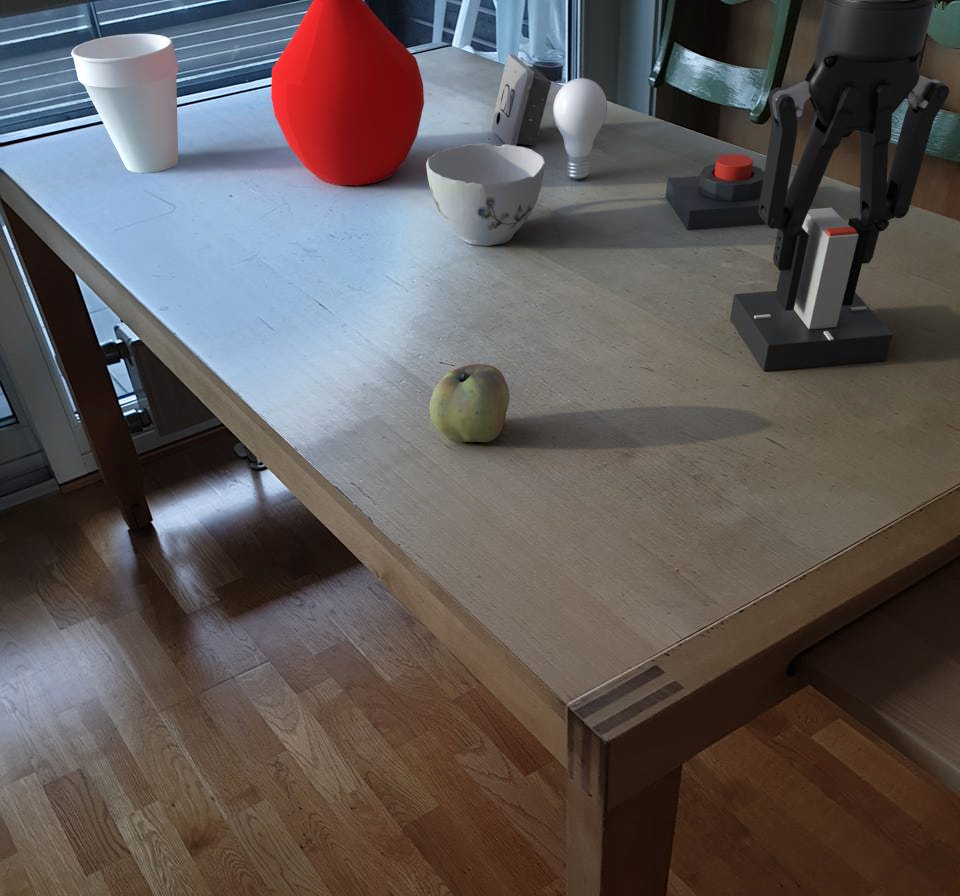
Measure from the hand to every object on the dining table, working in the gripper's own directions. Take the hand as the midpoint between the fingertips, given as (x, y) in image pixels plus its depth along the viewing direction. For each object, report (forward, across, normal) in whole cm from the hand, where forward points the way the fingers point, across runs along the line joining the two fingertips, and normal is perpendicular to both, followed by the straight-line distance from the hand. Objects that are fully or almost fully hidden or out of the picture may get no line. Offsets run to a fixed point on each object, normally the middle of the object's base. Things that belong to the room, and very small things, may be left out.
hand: (813, 300), depth 85 cm
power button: (0, -2, -31) cm, 31 cm away
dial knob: (+1, 0, 0) cm, 1 cm away
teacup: (+4, +26, -30) cm, 40 cm away
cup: (+4, +67, -61) cm, 91 cm away
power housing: (+4, -2, -31) cm, 31 cm away
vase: (+4, +40, -52) cm, 66 cm away
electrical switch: (+4, +18, -61) cm, 64 cm away
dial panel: (+4, 0, 0) cm, 4 cm away
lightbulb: (+4, +13, -44) cm, 46 cm away
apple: (+4, +31, +11) cm, 33 cm away
